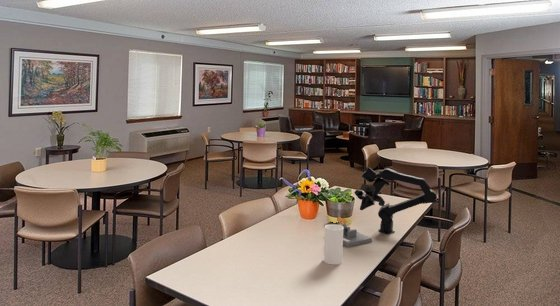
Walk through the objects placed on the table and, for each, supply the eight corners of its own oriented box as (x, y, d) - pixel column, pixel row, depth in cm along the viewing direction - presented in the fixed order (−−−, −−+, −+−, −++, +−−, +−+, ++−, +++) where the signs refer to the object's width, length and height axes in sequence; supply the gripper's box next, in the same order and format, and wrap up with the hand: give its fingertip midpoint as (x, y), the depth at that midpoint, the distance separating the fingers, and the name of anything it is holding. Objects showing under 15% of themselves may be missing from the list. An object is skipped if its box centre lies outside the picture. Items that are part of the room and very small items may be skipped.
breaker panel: (348, 231, 236) (348, 222, 235) (371, 241, 221) (372, 231, 220) (325, 236, 227) (325, 226, 226) (348, 247, 212) (348, 236, 211)
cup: (329, 256, 200) (330, 223, 198) (345, 260, 195) (346, 226, 193) (320, 261, 193) (321, 227, 191) (336, 266, 188) (338, 231, 186)
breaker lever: (347, 231, 226) (338, 216, 222) (353, 233, 222) (345, 218, 217) (344, 233, 225) (336, 219, 221) (351, 236, 221) (342, 221, 217)
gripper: (357, 175, 238) (341, 196, 234) (382, 181, 223) (365, 204, 219) (367, 187, 244) (351, 209, 239) (392, 194, 228) (375, 217, 224)
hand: (360, 209), depth 230 cm, fingers closed
